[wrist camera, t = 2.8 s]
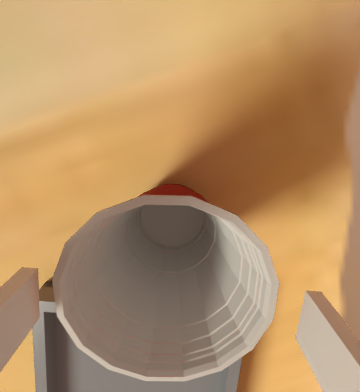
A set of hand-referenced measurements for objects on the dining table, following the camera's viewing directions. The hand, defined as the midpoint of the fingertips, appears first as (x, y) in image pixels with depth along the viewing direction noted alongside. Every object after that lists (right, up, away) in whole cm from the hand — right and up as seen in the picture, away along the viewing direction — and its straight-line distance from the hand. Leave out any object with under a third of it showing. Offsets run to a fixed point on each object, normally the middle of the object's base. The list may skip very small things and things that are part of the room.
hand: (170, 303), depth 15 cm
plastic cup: (0, +3, +11) cm, 12 cm away
